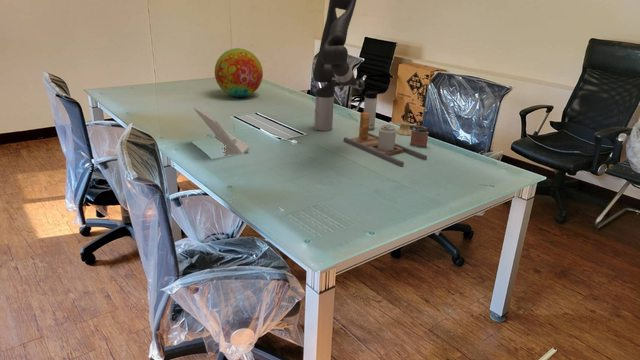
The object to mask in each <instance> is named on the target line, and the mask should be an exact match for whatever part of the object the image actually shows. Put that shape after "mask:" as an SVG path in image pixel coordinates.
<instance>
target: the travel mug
mask: <svg viewBox="0 0 640 360" xmlns="http://www.w3.org/2000/svg"><path fill="white" fill-rule="evenodd" d="M378 94H379V91H378V90H368V91H365V92H364V100H363V101H364V102H363V103H364V104H363V112H367V113H369V114H370V117H369V129H368V131H373V130H374V129H375V126H376V125H375V124H376V115H377V114H376V111H377V104H378V103H377V102H378Z"/></svg>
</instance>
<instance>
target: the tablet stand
mask: <svg viewBox="0 0 640 360" xmlns="http://www.w3.org/2000/svg"><path fill="white" fill-rule="evenodd" d="M192 109H193V110H194V111H195V112H196V113H197V115H198V116H199V117H200V119H202V121H203V122H204V123H205V124H206V126H208V128H209V130H211V131H212V132H213V134H214V135H215V136H214V137H213V138H216V139H217V140H219V141H220V142H222V143H223V144H224V146H225V145H226V148H225V147H224V151H225V150H226V151H225V152H223V153H225V155H224V156H228V155H234V154H240V153H244V154H246V152H248V151H249V150H250V146H249V144H246V143H244V142H243V141H242V140H240V139H238V138H237V137H235V136H234V135H232V134H231V133H229V132H227V131H225V130H224V129H223V127H222V126H221V124H220V123H218V121H217V120H216V119H215V118H213V117H211V116H210V115H208V114H207V113H205V112H204V111H202V110H201V109H199V108H197V107H196V106H193V107H192ZM234 141H236V142H234ZM222 149H223V148H222ZM240 155H241V154H240ZM234 156H235V155H234Z"/></svg>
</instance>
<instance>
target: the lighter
mask: <svg viewBox="0 0 640 360" xmlns="http://www.w3.org/2000/svg"><path fill="white" fill-rule="evenodd" d="M427 129H428V128H427V127H426V126H423V125H420V126H419V125H414V124H413V127H412V129H410V130H411V132H412V134H411V135H410V143H409V146H410V147H415V148H422V149H423V148H424V149H425V148H427V147H428V145H427V144H428V138H429V133H430V132H429V131H428V130H427Z"/></svg>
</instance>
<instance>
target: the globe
mask: <svg viewBox="0 0 640 360" xmlns="http://www.w3.org/2000/svg"><path fill="white" fill-rule="evenodd" d="M263 77H264V72H263V66H262V63H261V61H260V60H259V58H258V57H257V56H256V55H255V54H254V53H253V52H251V51H250V50H247V49H245V48H240V47H239V48H230V49H228V50H227V51H224V52H223V53H222V54H221V55H219V58H218V59H217V60H216V62H215V66H214V78H215V81H216V84H217V85H218V87H219V88H220V89H221V91H223V92H224V93H226V95H229V96H232V97H234V98H235V97H236V98H244V97H248V96H250V95H252V94H253V93H255V92H256V91H257V90H258V89H259V87H260V86H261V85H262V81H263Z"/></svg>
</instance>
